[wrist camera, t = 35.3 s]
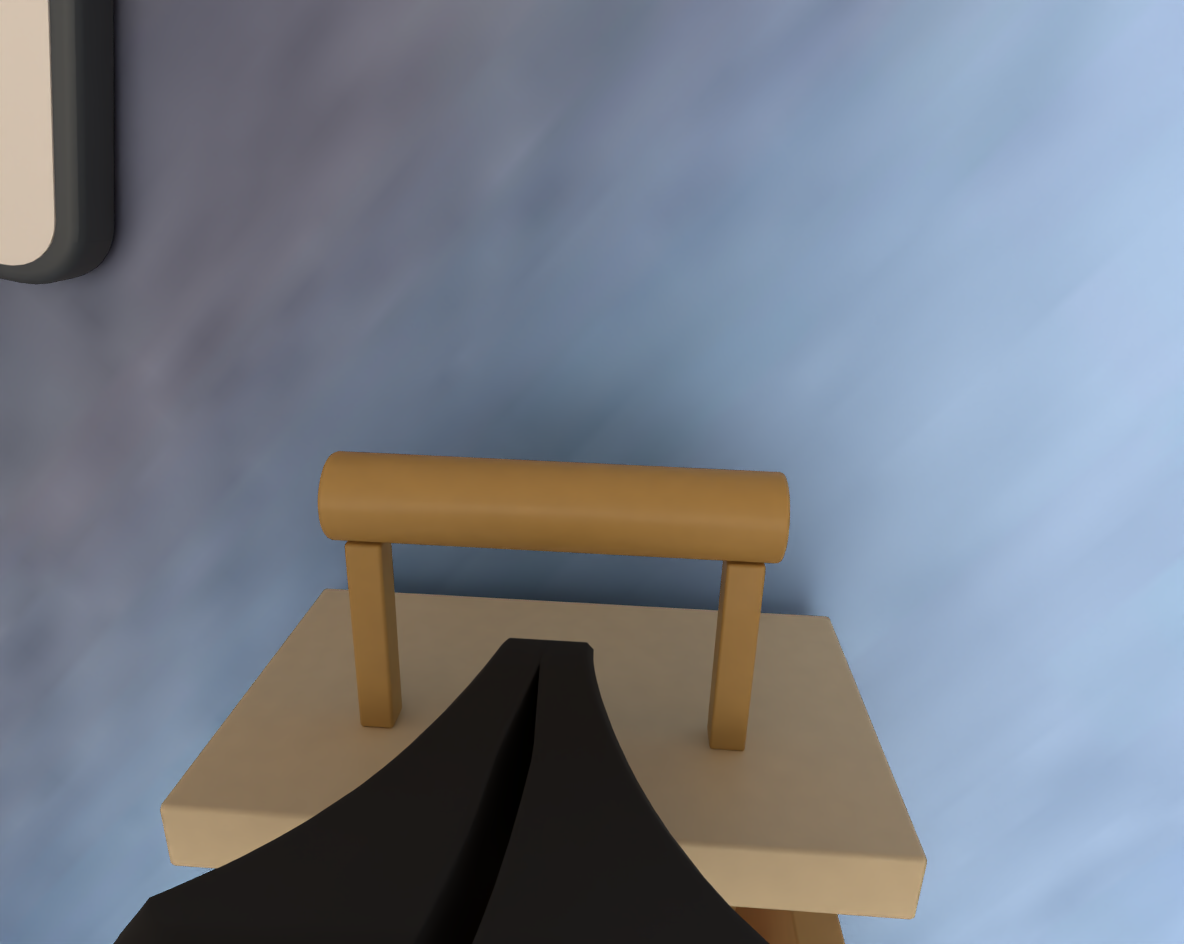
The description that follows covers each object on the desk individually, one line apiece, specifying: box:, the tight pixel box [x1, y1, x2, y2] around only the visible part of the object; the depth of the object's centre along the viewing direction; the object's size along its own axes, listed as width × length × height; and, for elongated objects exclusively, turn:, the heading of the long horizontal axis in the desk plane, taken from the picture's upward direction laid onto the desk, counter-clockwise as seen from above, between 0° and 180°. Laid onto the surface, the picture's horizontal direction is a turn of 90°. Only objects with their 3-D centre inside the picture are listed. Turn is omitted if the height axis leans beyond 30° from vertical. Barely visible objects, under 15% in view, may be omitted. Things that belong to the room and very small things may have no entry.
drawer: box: [160, 451, 927, 944], centre depth 17 cm, size 19×11×7 cm, turn 179°
